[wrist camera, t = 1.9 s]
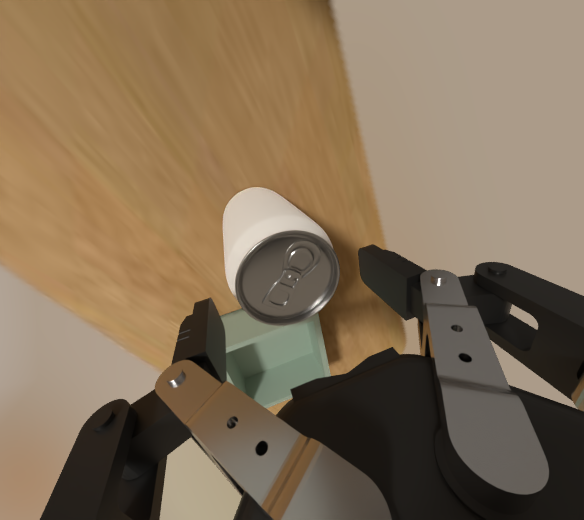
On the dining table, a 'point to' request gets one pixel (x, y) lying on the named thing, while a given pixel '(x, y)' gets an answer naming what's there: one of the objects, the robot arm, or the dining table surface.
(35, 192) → the dining table surface
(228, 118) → the dining table surface
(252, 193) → the can
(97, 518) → the robot arm
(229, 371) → the bin
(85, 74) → the dining table surface
